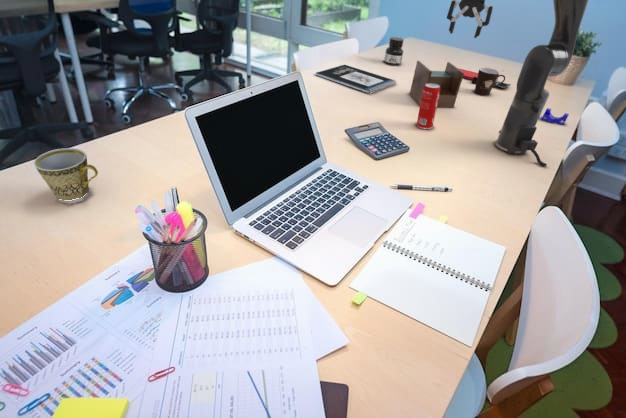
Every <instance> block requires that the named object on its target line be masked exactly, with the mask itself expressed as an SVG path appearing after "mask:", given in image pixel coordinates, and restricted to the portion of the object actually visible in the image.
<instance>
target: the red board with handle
mask: <svg viewBox="0 0 626 418" xmlns="http://www.w3.org/2000/svg"><path fill="white" fill-rule="evenodd" d="M457 68H458V69H459V70H461V71H462V72H463V73H464V75H463V78H464V79H468V80H471V84H474V85H476V82H477V77H478V72H475V71H472V70H467V69H464V68H460V67H457ZM463 78H462V79H463ZM498 80H499V77H498V78H497V79H496V81H495V83H494V85H493V86H495V85H497V84H499V83H501V82H502V81H498ZM497 87H498V88H499V87H500V88H503V89H508V88H509V87H511V83H505V82H503V83H502V84H500V85H498V86H497Z"/></svg>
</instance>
